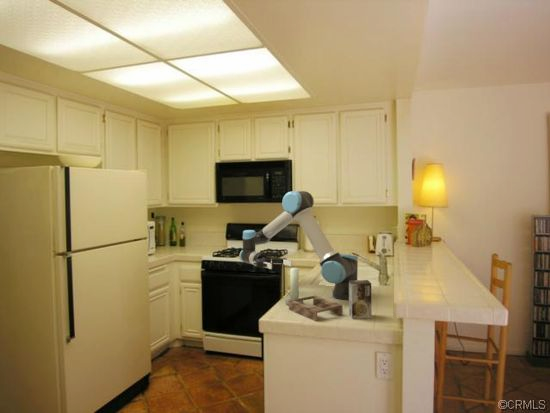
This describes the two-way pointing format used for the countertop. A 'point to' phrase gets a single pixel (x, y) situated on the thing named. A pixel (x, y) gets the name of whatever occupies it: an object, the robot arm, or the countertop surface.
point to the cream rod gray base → (294, 285)
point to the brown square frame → (314, 307)
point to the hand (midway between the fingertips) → (281, 265)
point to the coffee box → (360, 299)
